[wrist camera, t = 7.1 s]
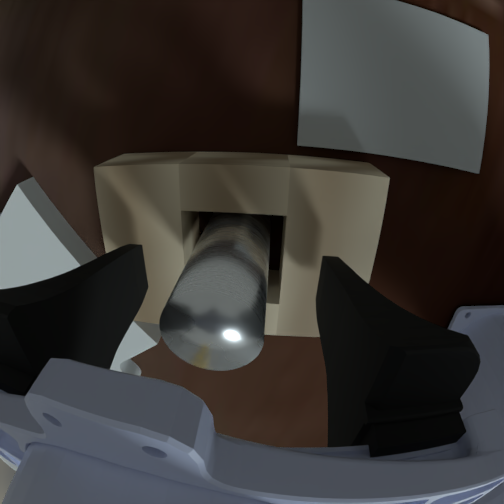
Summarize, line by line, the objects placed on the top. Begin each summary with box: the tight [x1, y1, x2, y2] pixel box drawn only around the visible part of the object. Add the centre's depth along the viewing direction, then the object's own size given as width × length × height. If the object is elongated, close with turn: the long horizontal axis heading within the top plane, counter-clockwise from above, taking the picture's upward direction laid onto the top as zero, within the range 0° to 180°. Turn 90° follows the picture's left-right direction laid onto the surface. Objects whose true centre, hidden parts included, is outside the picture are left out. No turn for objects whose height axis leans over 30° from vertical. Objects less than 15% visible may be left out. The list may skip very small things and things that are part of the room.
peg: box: [159, 212, 271, 370], centre depth 12 cm, size 3×3×8 cm
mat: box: [297, 0, 489, 174], centre depth 11 cm, size 10×8×1 cm
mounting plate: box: [0, 177, 161, 376], centre depth 19 cm, size 18×13×2 cm
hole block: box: [94, 152, 390, 337], centre depth 14 cm, size 12×8×3 cm, turn 88°
